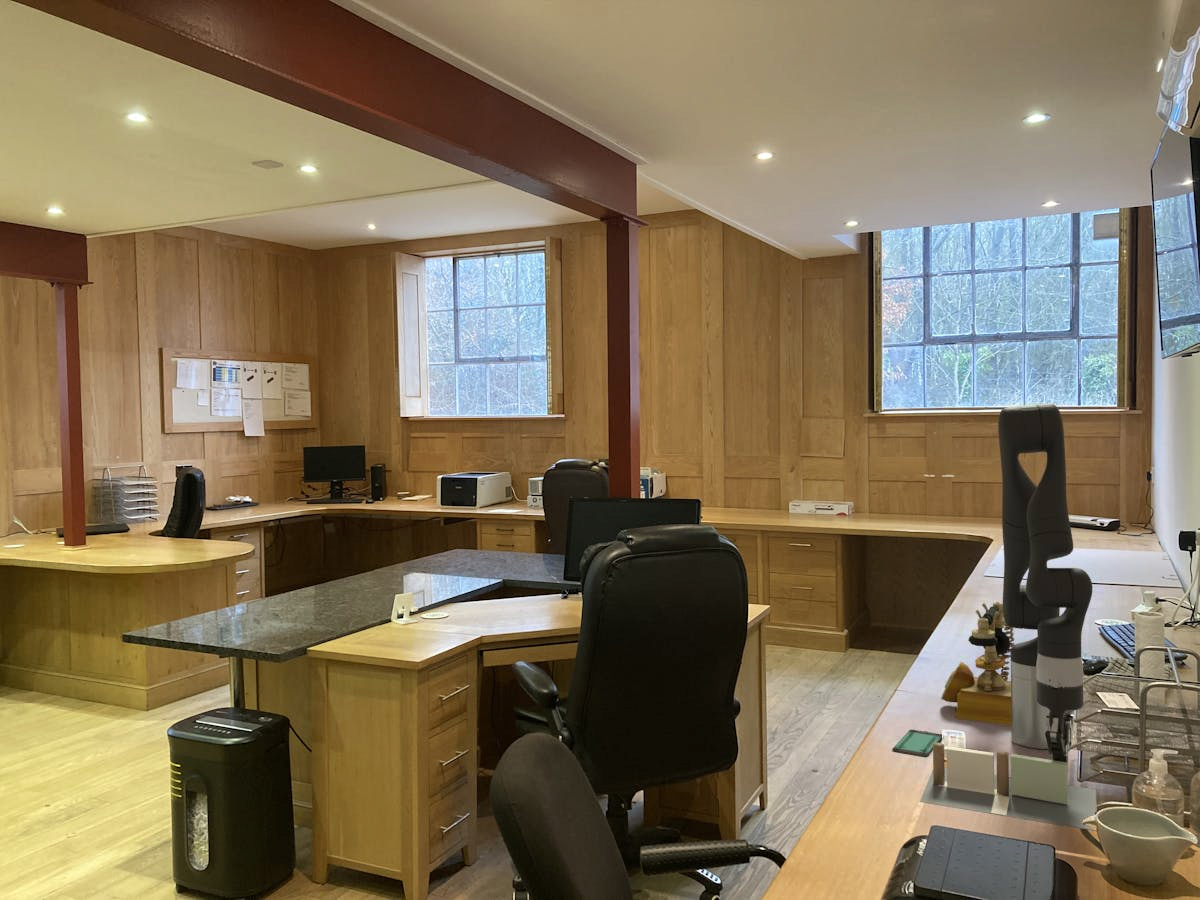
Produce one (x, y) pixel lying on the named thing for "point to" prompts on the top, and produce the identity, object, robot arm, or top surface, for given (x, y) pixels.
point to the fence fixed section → (971, 769)
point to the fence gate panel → (1039, 778)
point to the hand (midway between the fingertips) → (1060, 774)
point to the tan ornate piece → (985, 673)
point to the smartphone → (917, 743)
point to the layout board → (1016, 803)
